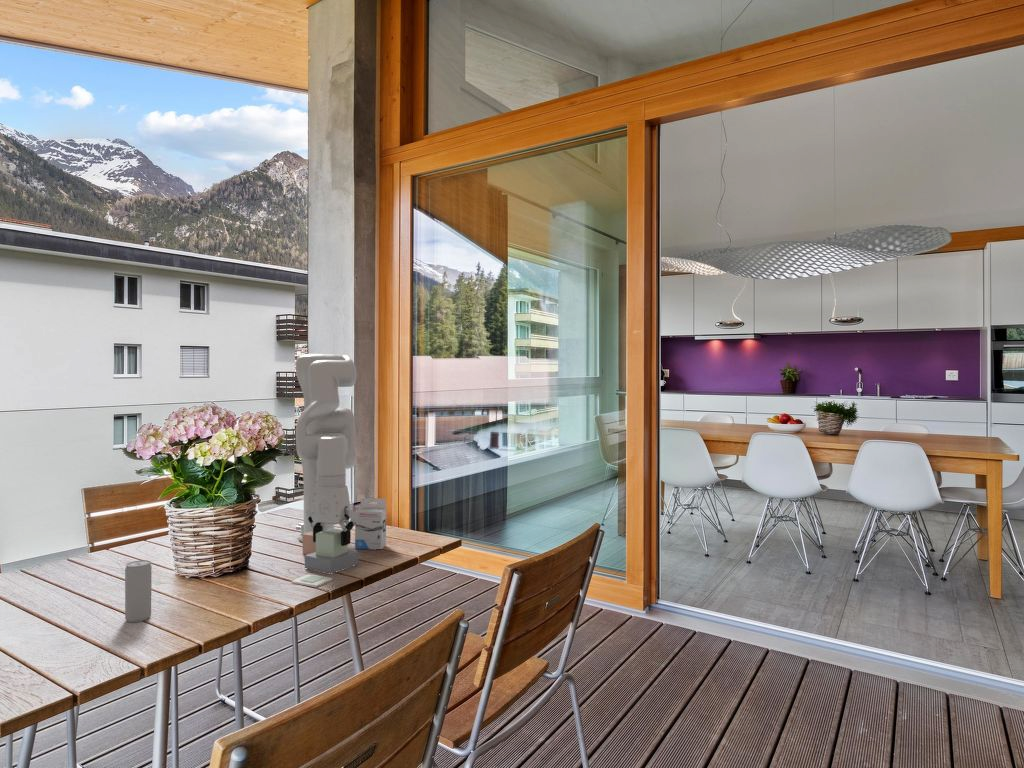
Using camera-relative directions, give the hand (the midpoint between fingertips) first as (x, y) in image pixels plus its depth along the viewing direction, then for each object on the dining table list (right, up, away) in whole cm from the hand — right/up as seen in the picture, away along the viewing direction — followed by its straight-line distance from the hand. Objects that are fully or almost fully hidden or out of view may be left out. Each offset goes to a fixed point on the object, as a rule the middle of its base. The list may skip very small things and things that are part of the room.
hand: (331, 542), depth 166 cm
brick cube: (-8, -7, +13) cm, 17 cm away
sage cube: (0, -3, 0) cm, 3 cm away
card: (-1, -7, -13) cm, 14 cm away
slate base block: (0, -7, 0) cm, 7 cm away
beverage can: (-31, -7, -37) cm, 48 cm away
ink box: (+6, -7, +19) cm, 21 cm away
